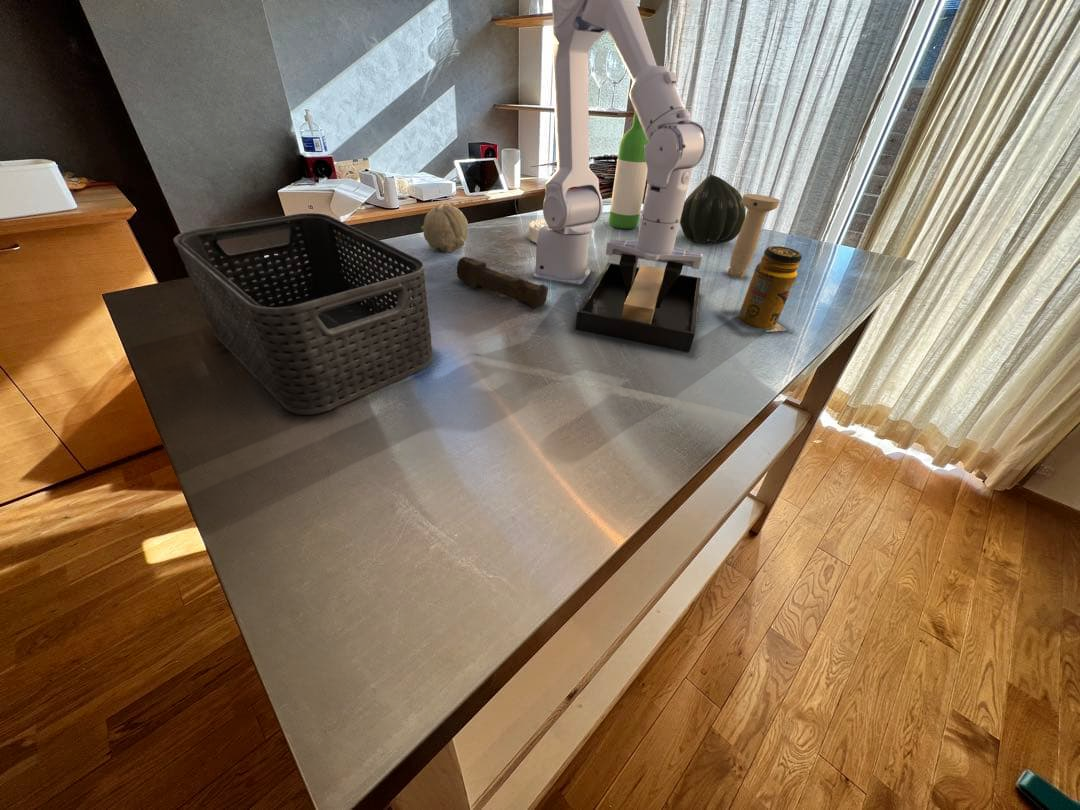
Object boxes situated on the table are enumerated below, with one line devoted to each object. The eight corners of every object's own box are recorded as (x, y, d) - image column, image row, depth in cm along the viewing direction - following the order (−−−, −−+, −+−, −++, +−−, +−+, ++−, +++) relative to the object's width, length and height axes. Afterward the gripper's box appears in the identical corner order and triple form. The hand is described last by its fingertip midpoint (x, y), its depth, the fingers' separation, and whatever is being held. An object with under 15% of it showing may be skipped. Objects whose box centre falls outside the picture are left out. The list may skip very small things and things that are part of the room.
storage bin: (445, 361, 59) (436, 263, 51) (300, 426, 47) (258, 312, 39) (338, 294, 74) (318, 209, 66) (207, 331, 62) (163, 233, 54)
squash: (756, 230, 99) (755, 166, 100) (689, 229, 99) (689, 165, 101) (729, 256, 114) (728, 200, 115) (671, 255, 114) (671, 199, 115)
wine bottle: (607, 228, 114) (627, 85, 96) (608, 220, 120) (628, 84, 102) (637, 231, 113) (664, 87, 95) (637, 223, 119) (662, 86, 101)
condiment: (786, 331, 72) (819, 258, 65) (741, 334, 70) (769, 259, 63) (759, 311, 78) (786, 242, 70) (717, 313, 76) (740, 243, 69)
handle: (746, 283, 88) (774, 203, 79) (715, 274, 91) (739, 196, 82) (755, 277, 91) (783, 199, 82) (725, 268, 94) (749, 192, 85)
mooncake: (532, 229, 109) (533, 214, 107) (580, 234, 108) (582, 219, 106) (524, 244, 100) (525, 228, 98) (577, 249, 99) (579, 233, 97)
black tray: (574, 331, 68) (577, 311, 66) (605, 279, 86) (607, 262, 84) (688, 354, 64) (694, 334, 62) (695, 295, 82) (700, 277, 80)
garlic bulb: (467, 259, 97) (482, 216, 91) (440, 263, 90) (454, 217, 84) (437, 237, 99) (449, 193, 93) (409, 239, 92) (420, 192, 87)
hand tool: (548, 305, 75) (550, 279, 72) (534, 312, 72) (536, 285, 70) (468, 275, 84) (467, 251, 81) (452, 281, 81) (451, 256, 78)
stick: (619, 330, 68) (624, 303, 66) (636, 288, 82) (641, 265, 79) (647, 335, 67) (653, 309, 65) (660, 292, 81) (665, 269, 78)
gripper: (607, 217, 64) (595, 304, 73) (710, 232, 61) (685, 321, 69) (616, 206, 70) (604, 288, 78) (711, 219, 66) (687, 303, 75)
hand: (642, 303), depth 74 cm, fingers closed on stick, 4 cm apart
